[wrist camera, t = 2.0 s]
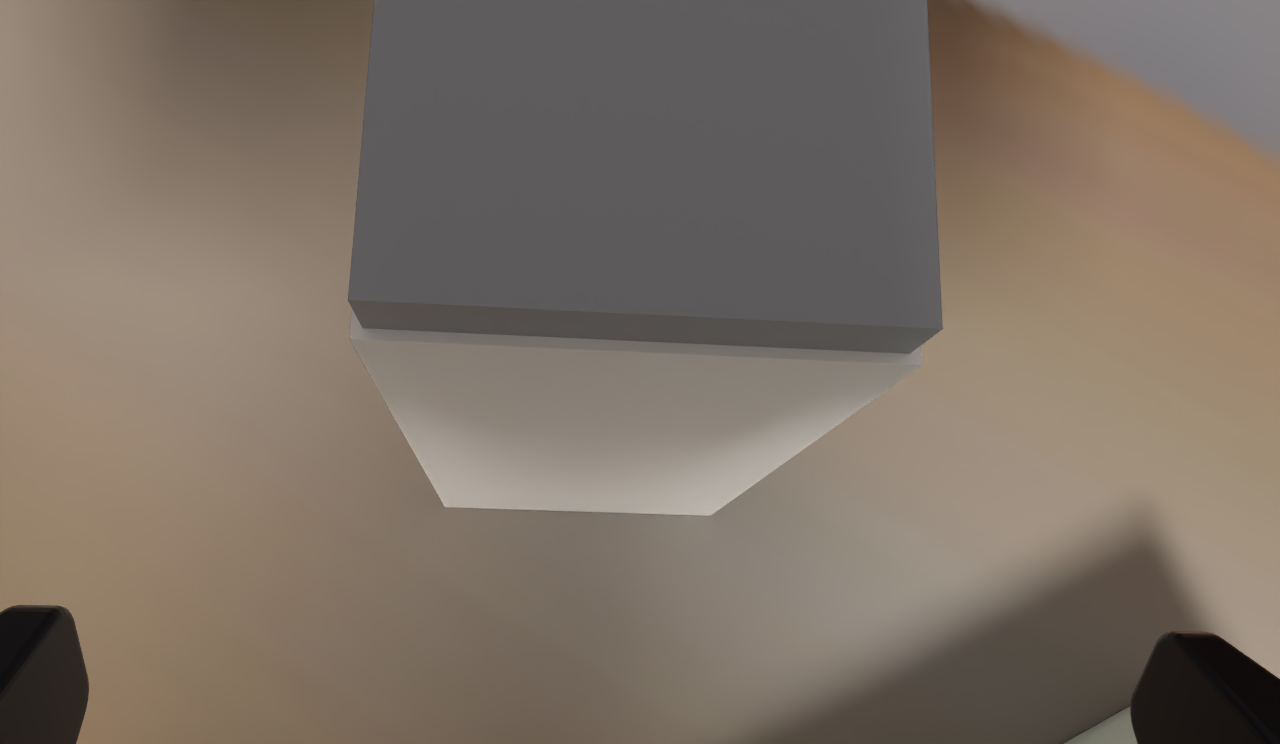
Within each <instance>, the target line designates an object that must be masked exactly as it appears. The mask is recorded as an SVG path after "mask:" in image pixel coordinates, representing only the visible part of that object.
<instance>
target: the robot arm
mask: <svg viewBox="0 0 1280 744" xmlns="http://www.w3.org/2000/svg"><path fill="white" fill-rule="evenodd" d="M88 694H89V682H88V676H87V672H86V667H85V663H84V659H83V655H82V651H81V647H80V642H79V638H78V634H77V630H76V626H75V622H74V619H73V617H72V614H71V613H70V612H69V610H68V609H66V608H64V607H61V606H49V605H16V606H12V607H9V608H7V609H5V610H4V611H2V612H0V744H76V742H77V739H78V736H79V732H80V729H81V725H82V722H83V719H84V715H85V712H86V708H87V702H88ZM1130 716H1131V723H1132V727H1133V731H1134V734H1135V737H1136V741H1137V744H1280V679H1279V678H1277V677H1276V676H1275V675H1273V674H1272V673H1270V672H1269V671H1268V670H1266V669H1265V668H1263V667H1262V666H1260V665H1259V664H1258V663H1256V662H1255V661H1253V660H1252V659H1250V658H1249V657H1248V656H1246V655H1245V654H1243V653H1242V652H1241V651H1239V650H1238V649H1236V648H1235V647H1233V646H1232V645H1231V644H1229V643H1228V642H1226V641H1225V640H1223V639H1222V638H1220V637H1219V636H1217V635H1215V634H1212V633H1207V632H1179V631H1172V632H1167V633H1165V634H1164V635H1162V636H1161V637H1160V638H1159V639H1158V640H1157V642H1156V644H1155V646H1154V648H1153V650H1152V653H1151V655H1150V657H1149V659H1148V662H1147V664H1146V666H1145V668H1144V671H1143V673H1142V675H1141V677H1140V679H1139V682H1138V684H1137V686H1136V688H1135V691H1134V693H1133V696H1132V700H1131V706H1130Z"/></svg>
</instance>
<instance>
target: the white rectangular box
mask: <svg viewBox="0 0 1280 744" xmlns="http://www.w3.org/2000/svg"><path fill="white" fill-rule="evenodd" d="M348 301H349V303H350V305H351V307H352V315H351V326H350V338H349V339H350V341H351V343H352V344H353V346H354V348H355V350H356V351H357V353H358V355H359V357H360V359H361V360H362V362H363V364H364V366H365V367H366V369H367V371H368V373H369V374H370V376H371V378H372V380H373V381H374V383H375V385H376V387H377V388H378V390H379V392H380V394H381V395H382V397H383V399H384V401H385V402H386V404H387V406H388V408H389V410H390V411H391V413H392V415H393V417H394V418H395V420H396V422H397V424H398V425H399V427H400V429H401V431H402V432H403V434H404V436H405V438H406V439H407V441H408V443H409V445H410V446H411V448H412V450H413V452H414V454H415V455H416V457H417V459H418V461H419V462H420V464H421V466H422V468H423V469H424V471H425V473H426V475H427V476H428V478H429V480H430V482H431V483H432V485H433V487H434V489H435V490H436V492H437V494H438V496H439V497H440V499H441V501H442V503H443V505H444V506H445V507H455V508H486V509H517V510H548V511H579V512H610V513H641V514H672V515H703V516H711V515H712V514H714V513H715V512H716V511H718V510H719V509H721V508H722V507H723V506H725V505H726V504H728V503H729V502H730V501H732V500H733V499H735V498H736V497H737V496H739V495H740V494H742V493H743V492H744V491H746V490H747V489H749V488H750V487H751V486H753V485H754V484H756V483H757V482H758V481H760V480H761V479H763V478H764V477H765V476H767V475H768V474H770V473H771V472H772V471H774V470H775V469H777V468H778V467H779V466H781V465H782V464H784V463H785V462H786V461H788V460H789V459H791V458H792V457H793V456H795V455H796V454H798V453H799V452H800V451H802V450H803V449H805V448H806V447H807V446H809V445H810V444H812V443H813V442H814V441H816V440H817V439H819V438H820V437H821V436H823V435H824V434H826V433H827V432H828V431H830V430H831V429H833V428H834V427H835V426H837V425H838V424H840V423H841V422H842V421H844V420H845V419H847V418H848V417H849V416H851V415H852V414H854V413H855V412H856V411H858V410H859V409H861V408H862V407H863V406H865V405H866V404H868V403H869V402H870V401H872V400H873V399H875V398H876V397H877V396H879V395H880V394H882V393H883V392H884V391H886V390H887V389H889V388H890V387H891V386H893V385H894V384H896V383H897V382H898V381H900V380H901V379H903V378H904V377H905V376H907V375H908V374H910V373H911V372H912V371H914V370H915V369H917V368H918V367H919V366H921V345H922V344H923V343H925V342H926V341H927V340H929V339H930V338H931V337H933V336H934V335H935V334H937V333H938V332H939V331H940V330H942V329H943V328H942V307H941V285H940V264H939V243H938V222H937V201H936V180H935V159H934V138H933V117H932V95H931V74H930V53H929V32H928V11H927V0H374V9H373V20H372V32H371V43H370V54H369V66H368V77H367V88H366V100H365V111H364V123H363V134H362V145H361V157H360V168H359V180H358V191H357V202H356V214H355V225H354V237H353V248H352V259H351V271H350V282H349V293H348Z"/></svg>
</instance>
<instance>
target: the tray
mask: <svg viewBox="0 0 1280 744" xmlns="http://www.w3.org/2000/svg"><path fill="white" fill-rule="evenodd" d="M1064 744H1137V741H1136V737H1135V734H1134V731H1133V727H1132V723H1131V716H1130V706H1129V707H1127V708H1125V709H1124V710H1122V711H1120V712H1118V713H1117V714H1115V715H1113V716H1111V717H1110V718H1108V719H1106V720H1104V721H1102V722H1101V723H1099V724H1097V725H1095V726H1094V727H1092V728H1090V729H1088V730H1087V731H1085V732H1083V733H1081V734H1079V735H1078V736H1076V737H1074V738H1072V739H1071V740H1069V741H1067V742H1065V743H1064Z"/></svg>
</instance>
